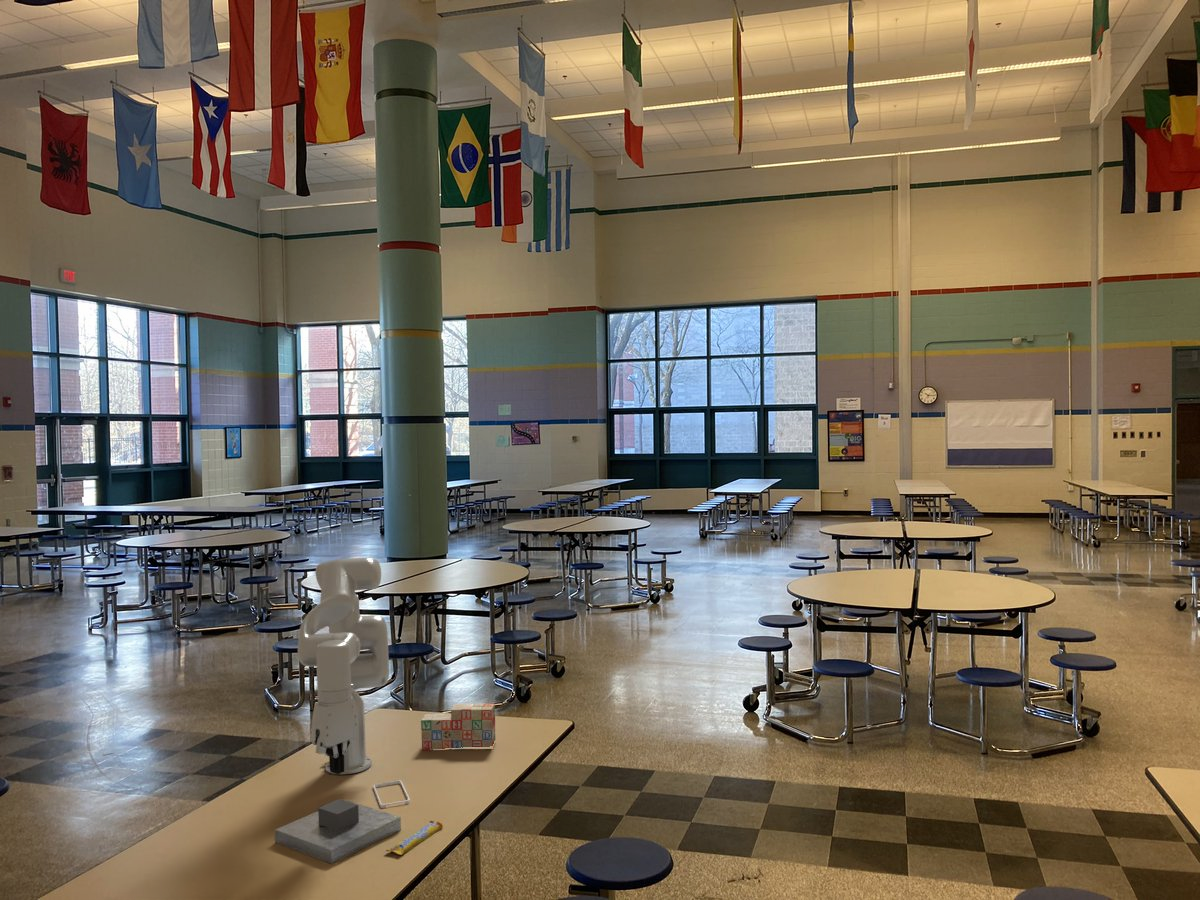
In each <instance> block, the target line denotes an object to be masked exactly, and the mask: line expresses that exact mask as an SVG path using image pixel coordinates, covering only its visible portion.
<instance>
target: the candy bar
mask: <svg viewBox="0 0 1200 900" xmlns="http://www.w3.org/2000/svg"><path fill="white" fill-rule="evenodd" d="M443 828H444V826H443V823H441V822H439V821H436V822H435V821H434V820H429V823H427V824H426V825H425V826H423V827H422V828H420V829H419V830H418V831H415V833H413V834H411V835H410V836H408V837H407V838H405V839H403V840H402V841H400V842H398V843H397V844H395V845H394V846H392V847H391V848H390V849H385V851H386V852H391V853H395V854H397V855H400V856H402V855H404V854H406V853H408V852H409V851H411V850H412V849H413V848H415V847H416V846H418V845H420V844H421V843H422V842H424V841H425V840H427V839H429V837H432V835H434V834H436V833H437V832H439V831H440V830H441V829H443Z"/></svg>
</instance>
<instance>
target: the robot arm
mask: <svg viewBox="0 0 1200 900" xmlns="http://www.w3.org/2000/svg"><path fill="white" fill-rule="evenodd" d="M315 578H316V582H317V584H318V586H319V588H320V602H319V603H318V604H317V605H316V606H314V607H313V608H312V609H311V610H310V611H309V612H308V613H307V614H306V616H305V617H304V619H303V620H302V621H301V624H300V626H299V631H298V642H297V658H298V660H299V661H298V662H299V663H301V665H302V666H304V667H307V668H309V667H310V668H311V667H316V684H317V685H316V687H317V688H316V689H317V702H316V703H314V707H313V712H312V720H311V743H312V745H314V746H315V753H316V754H318V755H323V754H324V755H325V756H326V757H328V759H329V761H328V762H327V763H326V764H325V771H326V772H327V773H329V774H331V775H339V776H340V775H351V774H356V773H360V772H363V771H366V770H367V769H369V768H371V766H372V764H373V763H372V761H373V760H372V758H371V757H369V756H367V751H366V750H367V749H366V747H367V746H366V718H365V717H366V716H365V715H366V714H365V713H366V712H365V702H364V700H363V699H362V697H361V696H360V694H359V693H358V692H357V691H356V690H359V689H370V688H371V689H372V688H379V687H383V686H385V685H386V684H387V683H388V682H389V677H390V663H389V662H390V660H389V659H390V658H389V638H388V635H389V634H388V626H387V622H386V620H385V618H384V617H382V615H381V616H380V615H378V614H377V615H376V614H375V615H374V614H373V615H361V614H360V599H359V597H358V595H357V593H356V591H364V590H365V591H366V590H376V589H378V588H379V586H380V584H381V581H382V567H381V564H380V562H379V561H378V559H376V558H373V557H356V558H355V557H353V558H338V559H334V560H329V561H323V562H321V563H319V564H318V565H317V566H316V568H315ZM326 627H328V633H327V632H326V633H318V632H319V631H320V630H322V629H324V628H326ZM316 633H317V634H316ZM367 650H368V651H370V652H371V653H360V652H361V651H367Z"/></svg>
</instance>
